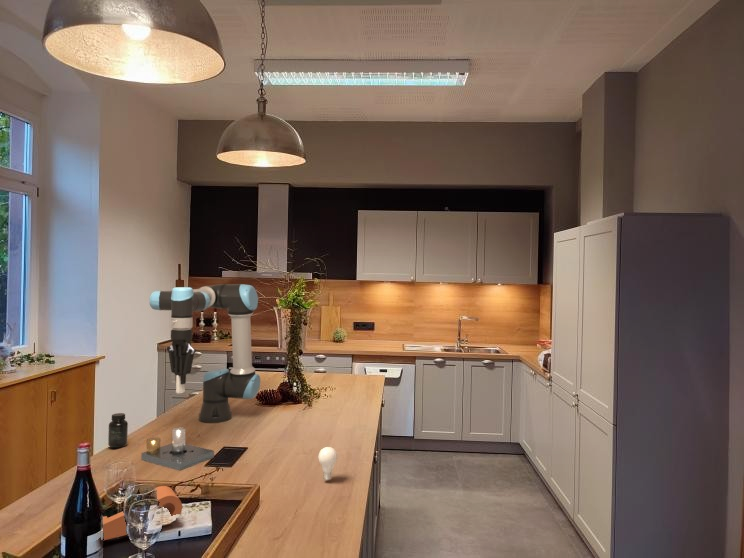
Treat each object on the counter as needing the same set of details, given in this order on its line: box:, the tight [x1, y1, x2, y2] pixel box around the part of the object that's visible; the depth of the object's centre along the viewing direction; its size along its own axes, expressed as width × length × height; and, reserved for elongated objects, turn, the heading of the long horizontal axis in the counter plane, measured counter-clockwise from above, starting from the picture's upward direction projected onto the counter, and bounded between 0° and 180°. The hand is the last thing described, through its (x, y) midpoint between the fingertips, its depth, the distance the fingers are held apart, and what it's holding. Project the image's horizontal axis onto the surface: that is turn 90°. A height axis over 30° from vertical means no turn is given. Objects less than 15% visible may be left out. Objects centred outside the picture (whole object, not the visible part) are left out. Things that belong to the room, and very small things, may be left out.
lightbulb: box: [318, 446, 338, 482], centre depth 177 cm, size 6×6×11 cm
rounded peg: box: [171, 426, 187, 455], centre depth 195 cm, size 5×5×11 cm
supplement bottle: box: [107, 412, 129, 448], centre depth 209 cm, size 7×7×12 cm
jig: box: [141, 436, 215, 472], centre depth 195 cm, size 20×16×7 cm
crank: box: [102, 485, 183, 541], centre depth 143 cm, size 20×8×8 cm, turn 125°
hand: (180, 392), depth 195 cm, fingers closed
